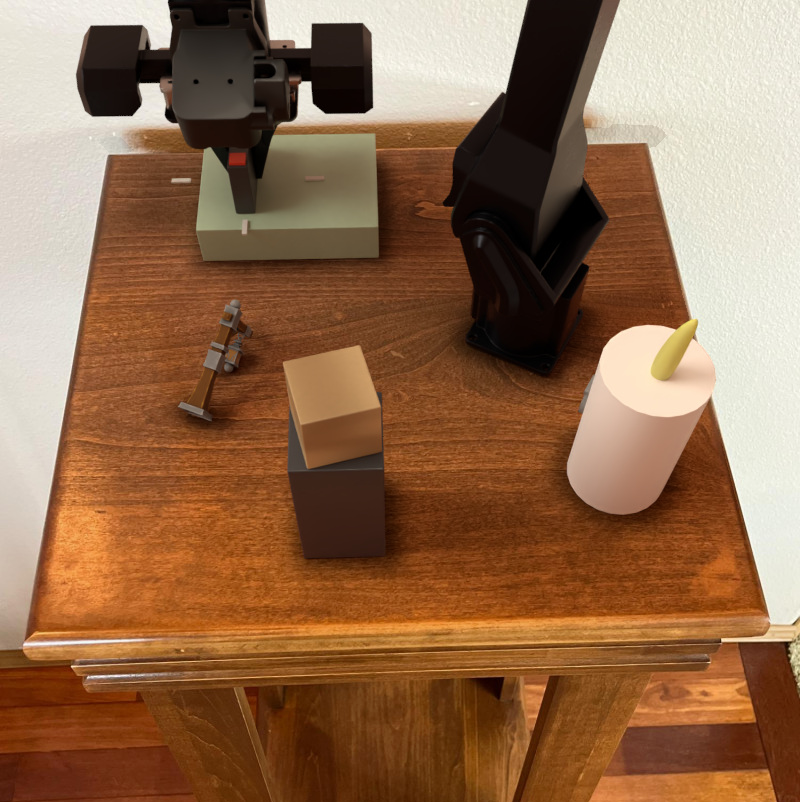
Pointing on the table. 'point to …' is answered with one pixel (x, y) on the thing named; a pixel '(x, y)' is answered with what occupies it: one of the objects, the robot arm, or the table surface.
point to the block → (334, 406)
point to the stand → (338, 502)
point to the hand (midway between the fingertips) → (247, 175)
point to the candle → (639, 416)
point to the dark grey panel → (242, 179)
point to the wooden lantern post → (218, 359)
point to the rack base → (295, 202)
